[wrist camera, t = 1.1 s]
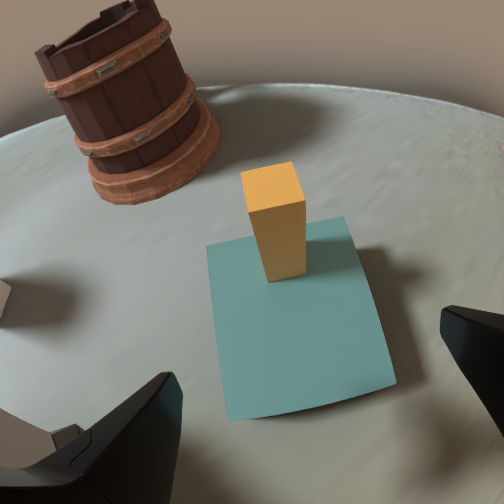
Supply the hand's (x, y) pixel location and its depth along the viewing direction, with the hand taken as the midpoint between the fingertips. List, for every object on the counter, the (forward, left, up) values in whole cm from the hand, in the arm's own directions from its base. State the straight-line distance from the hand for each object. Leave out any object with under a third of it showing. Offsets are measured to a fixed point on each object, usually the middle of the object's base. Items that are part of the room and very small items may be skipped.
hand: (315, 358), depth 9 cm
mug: (+29, -18, -14) cm, 37 cm away
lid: (+3, -3, -10) cm, 11 cm away
